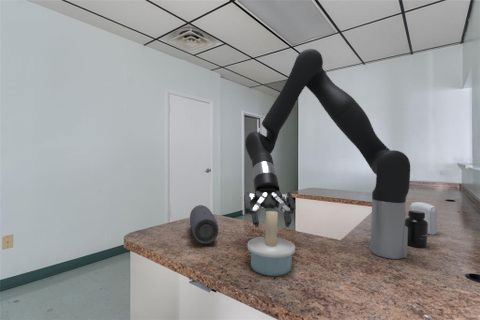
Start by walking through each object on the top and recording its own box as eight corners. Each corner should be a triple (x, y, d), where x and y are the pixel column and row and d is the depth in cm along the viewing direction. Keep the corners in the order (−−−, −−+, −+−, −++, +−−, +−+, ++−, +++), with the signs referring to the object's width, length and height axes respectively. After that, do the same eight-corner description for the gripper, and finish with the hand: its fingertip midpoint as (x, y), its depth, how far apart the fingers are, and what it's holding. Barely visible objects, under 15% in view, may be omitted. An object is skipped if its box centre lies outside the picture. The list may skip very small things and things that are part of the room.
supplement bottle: (428, 250, 83) (429, 214, 83) (404, 245, 87) (405, 212, 86) (425, 244, 89) (427, 211, 89) (403, 240, 92) (404, 208, 92)
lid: (291, 241, 74) (292, 208, 73) (298, 259, 61) (299, 219, 60) (248, 238, 75) (249, 206, 74) (246, 256, 62) (247, 216, 62)
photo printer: (407, 228, 109) (408, 200, 109) (415, 227, 110) (416, 200, 110) (429, 235, 99) (431, 205, 99) (438, 235, 100) (439, 205, 100)
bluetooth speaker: (220, 246, 81) (220, 216, 81) (191, 248, 79) (192, 217, 79) (211, 227, 103) (211, 203, 103) (188, 228, 101) (189, 204, 101)
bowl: (288, 258, 73) (288, 242, 73) (293, 277, 62) (294, 257, 62) (251, 256, 73) (251, 240, 73) (250, 274, 62) (250, 255, 62)
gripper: (244, 171, 74) (248, 218, 63) (289, 171, 75) (302, 218, 64) (241, 186, 79) (245, 232, 68) (284, 186, 81) (294, 232, 69)
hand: (272, 225), depth 66 cm, fingers open, 8 cm apart
